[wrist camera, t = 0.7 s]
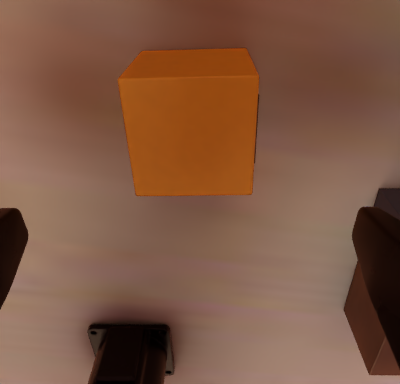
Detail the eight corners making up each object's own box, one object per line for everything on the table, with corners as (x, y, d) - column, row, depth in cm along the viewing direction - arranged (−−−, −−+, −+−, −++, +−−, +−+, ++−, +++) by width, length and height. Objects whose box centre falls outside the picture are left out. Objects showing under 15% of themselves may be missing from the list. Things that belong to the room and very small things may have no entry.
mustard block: (246, 145, 19) (256, 195, 15) (151, 146, 19) (135, 197, 15) (250, 47, 16) (264, 74, 12) (140, 50, 16) (116, 78, 12)
